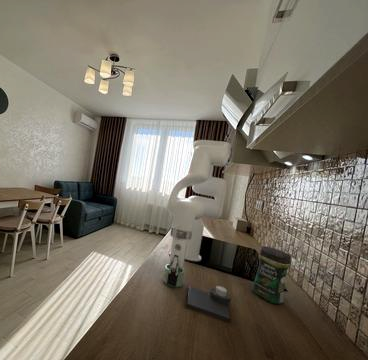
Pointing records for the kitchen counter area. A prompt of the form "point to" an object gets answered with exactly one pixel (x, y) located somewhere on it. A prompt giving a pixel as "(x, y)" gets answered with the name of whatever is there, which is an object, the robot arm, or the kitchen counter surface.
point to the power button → (221, 291)
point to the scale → (209, 303)
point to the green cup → (180, 274)
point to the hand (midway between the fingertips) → (172, 280)
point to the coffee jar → (271, 274)
